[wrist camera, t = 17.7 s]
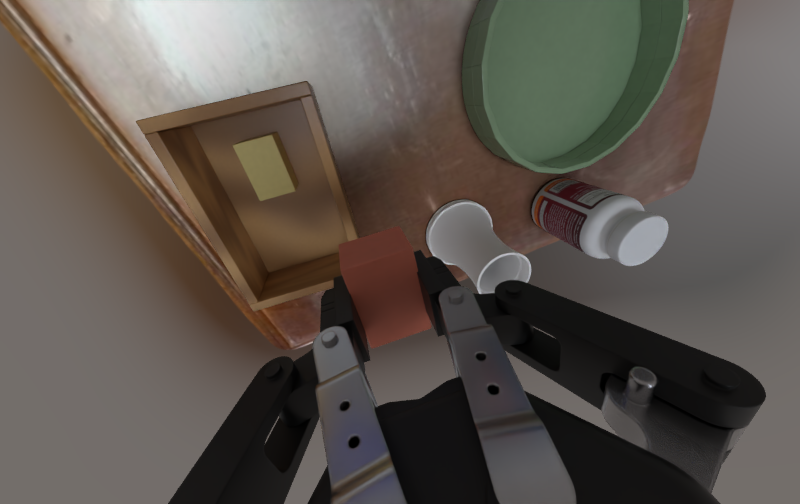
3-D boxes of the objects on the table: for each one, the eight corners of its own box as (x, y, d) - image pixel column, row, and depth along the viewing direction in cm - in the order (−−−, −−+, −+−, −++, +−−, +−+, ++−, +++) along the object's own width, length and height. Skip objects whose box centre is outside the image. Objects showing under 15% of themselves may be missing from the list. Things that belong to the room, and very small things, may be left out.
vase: (468, 267, 35) (514, 321, 26) (414, 251, 32) (446, 305, 23) (500, 212, 32) (562, 252, 24) (444, 189, 30) (492, 224, 21)
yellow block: (240, 141, 23) (231, 145, 21) (277, 131, 23) (271, 134, 21) (266, 193, 25) (260, 201, 23) (298, 183, 26) (296, 191, 23)
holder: (177, 117, 22) (134, 121, 17) (311, 85, 23) (307, 80, 18) (265, 277, 30) (253, 311, 25) (363, 249, 31) (370, 276, 26)
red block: (338, 244, 13) (340, 270, 11) (399, 225, 13) (412, 247, 11) (365, 315, 15) (371, 349, 13) (417, 297, 16) (431, 328, 13)
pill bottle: (553, 235, 35) (635, 283, 26) (519, 215, 33) (596, 261, 23) (587, 191, 34) (689, 225, 24) (553, 166, 31) (652, 194, 22)
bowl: (450, -50, 21) (473, -80, 18) (662, -92, 23) (722, -128, 19) (470, 184, 30) (488, 195, 26) (621, 141, 32) (657, 146, 28)
